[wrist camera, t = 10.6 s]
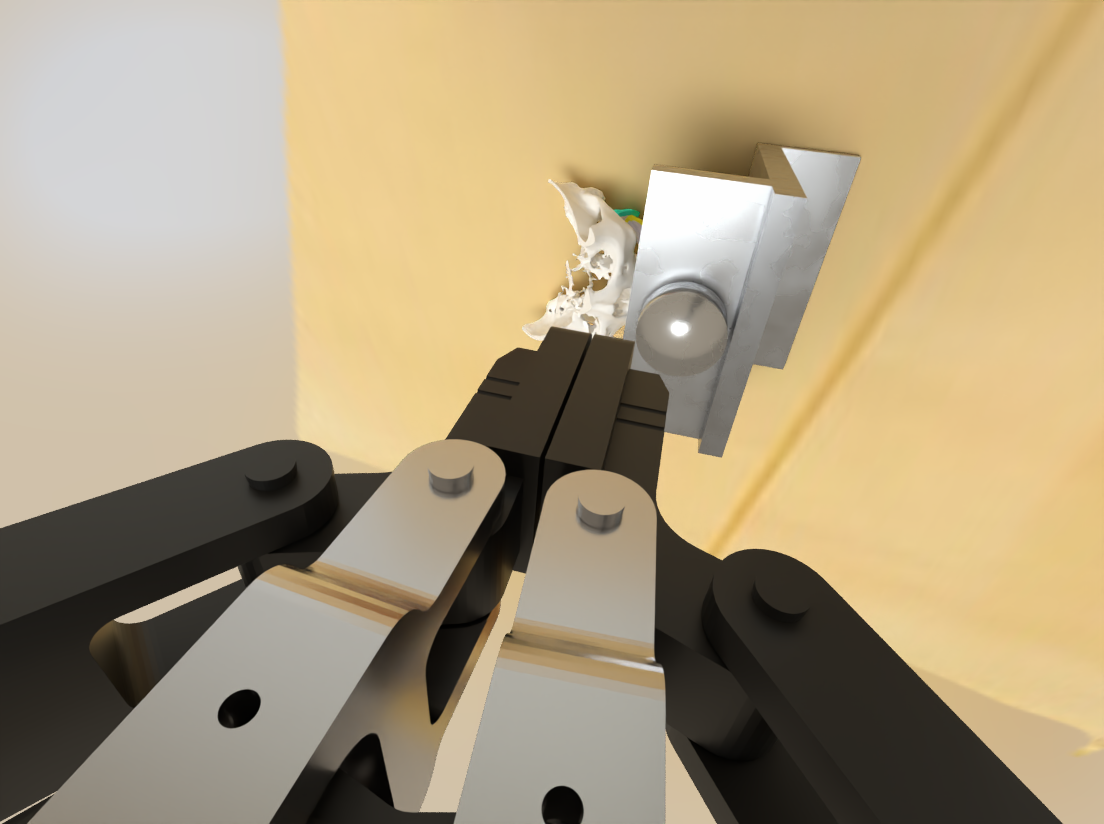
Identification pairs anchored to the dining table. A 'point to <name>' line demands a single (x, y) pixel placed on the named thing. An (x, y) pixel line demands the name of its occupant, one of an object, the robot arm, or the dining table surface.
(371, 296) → the dining table surface
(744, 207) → the bracket
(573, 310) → the white irregular lump
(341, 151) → the dining table surface
